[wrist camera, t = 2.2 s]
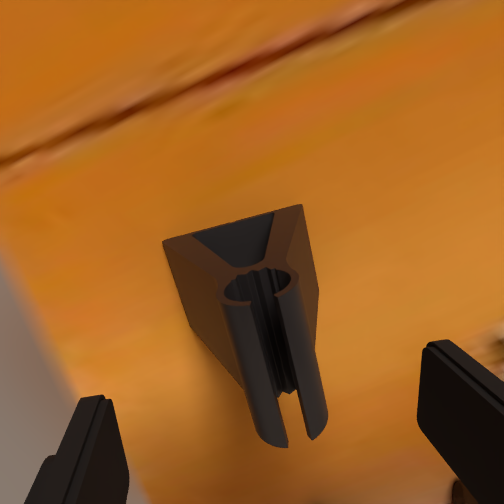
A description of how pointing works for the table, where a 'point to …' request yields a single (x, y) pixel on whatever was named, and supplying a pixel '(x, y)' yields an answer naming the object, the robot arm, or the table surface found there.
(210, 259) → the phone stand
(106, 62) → the table surface
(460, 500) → the trolley
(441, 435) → the robot arm
